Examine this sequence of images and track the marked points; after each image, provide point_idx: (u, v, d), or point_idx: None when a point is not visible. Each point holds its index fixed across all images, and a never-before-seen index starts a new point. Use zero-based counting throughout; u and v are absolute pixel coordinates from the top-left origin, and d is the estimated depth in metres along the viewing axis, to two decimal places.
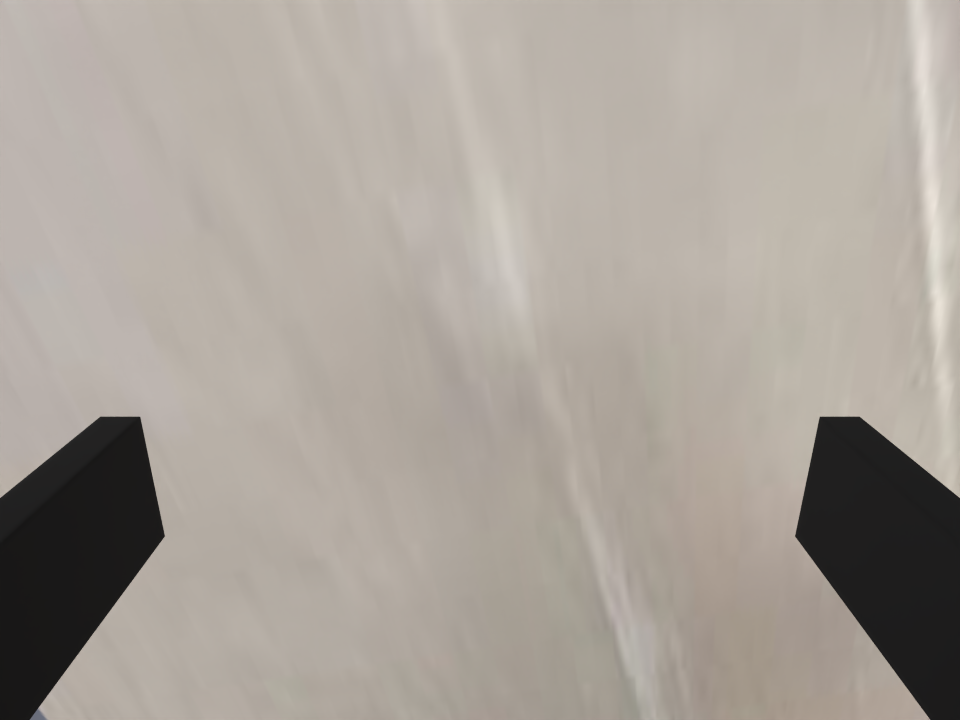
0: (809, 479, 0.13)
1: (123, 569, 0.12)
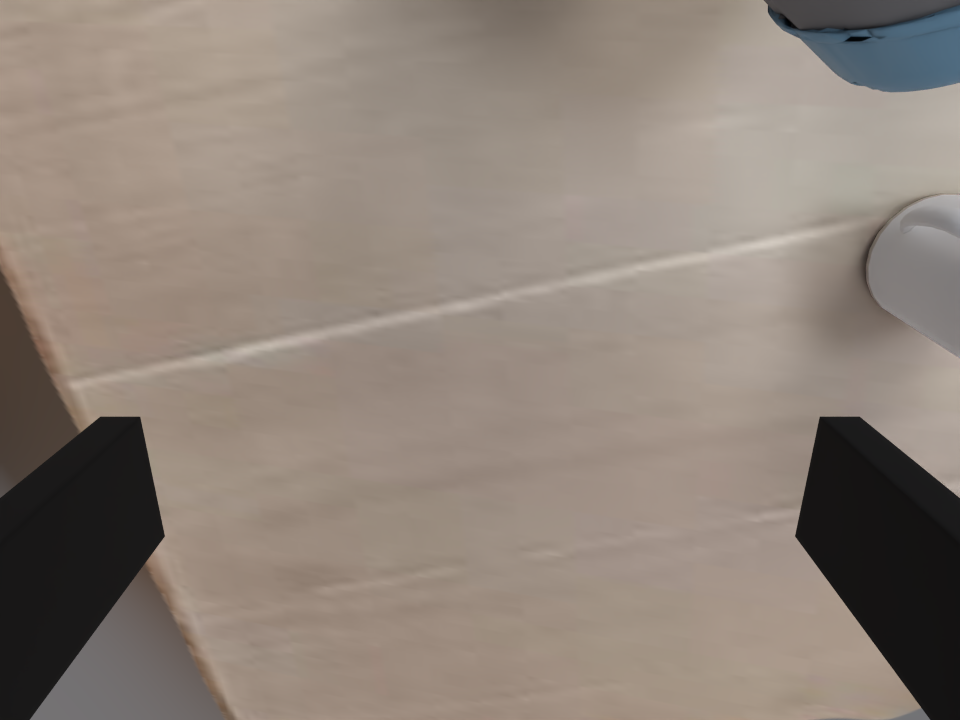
0: (808, 479, 0.13)
1: (124, 569, 0.12)
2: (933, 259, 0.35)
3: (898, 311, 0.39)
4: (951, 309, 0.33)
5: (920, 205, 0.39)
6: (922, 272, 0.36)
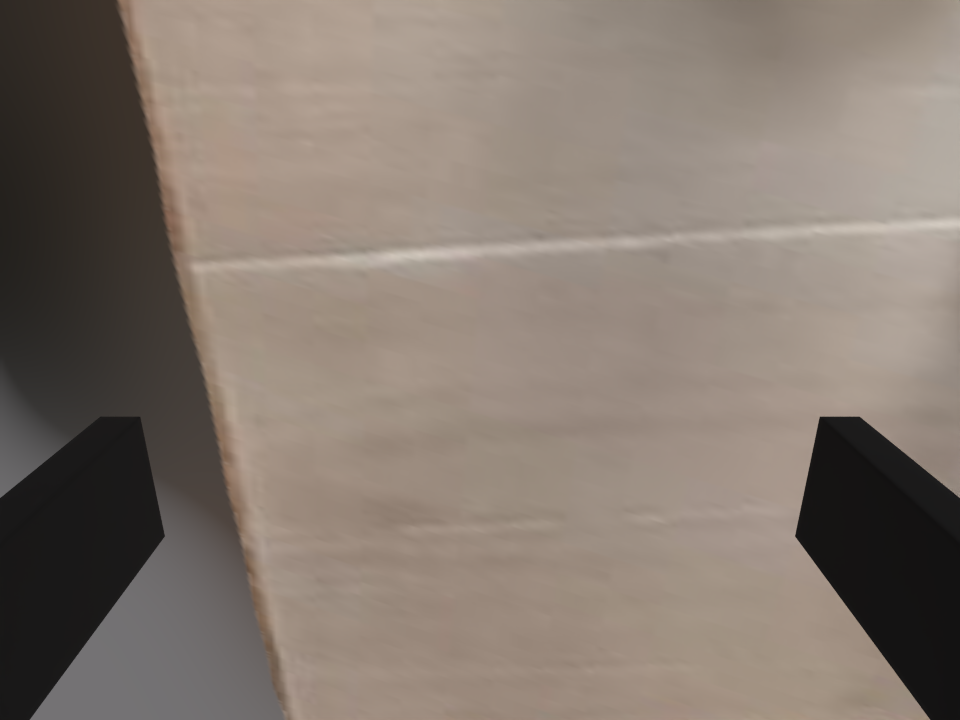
0: (808, 479, 0.13)
1: (123, 569, 0.12)
2: None
3: None
4: None
5: None
6: None
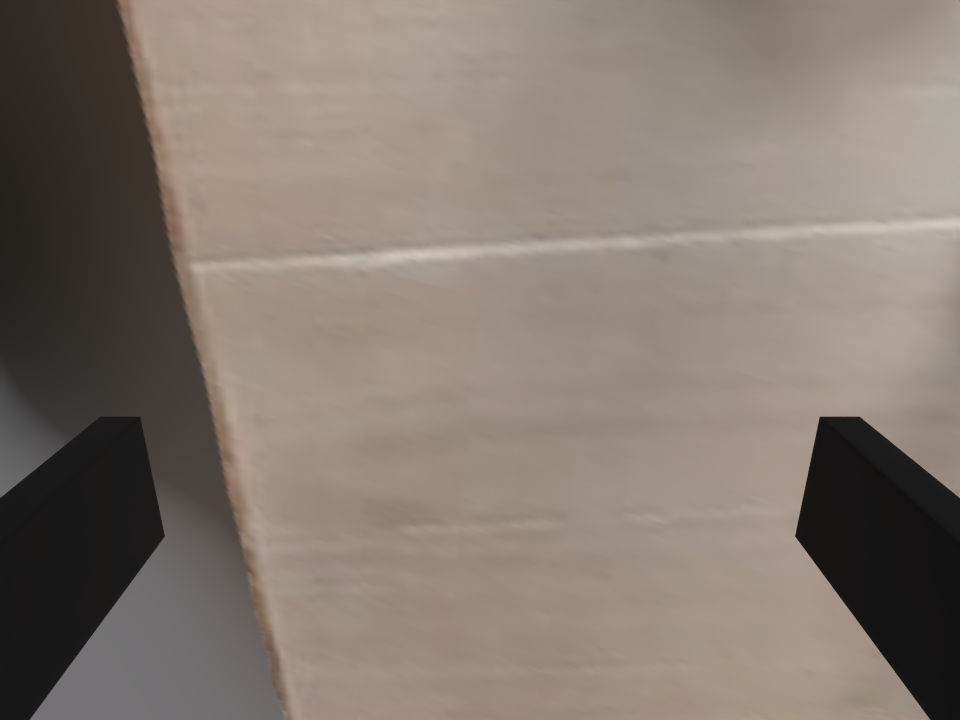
0: (808, 479, 0.13)
1: (123, 569, 0.12)
2: None
3: None
4: None
5: None
6: None
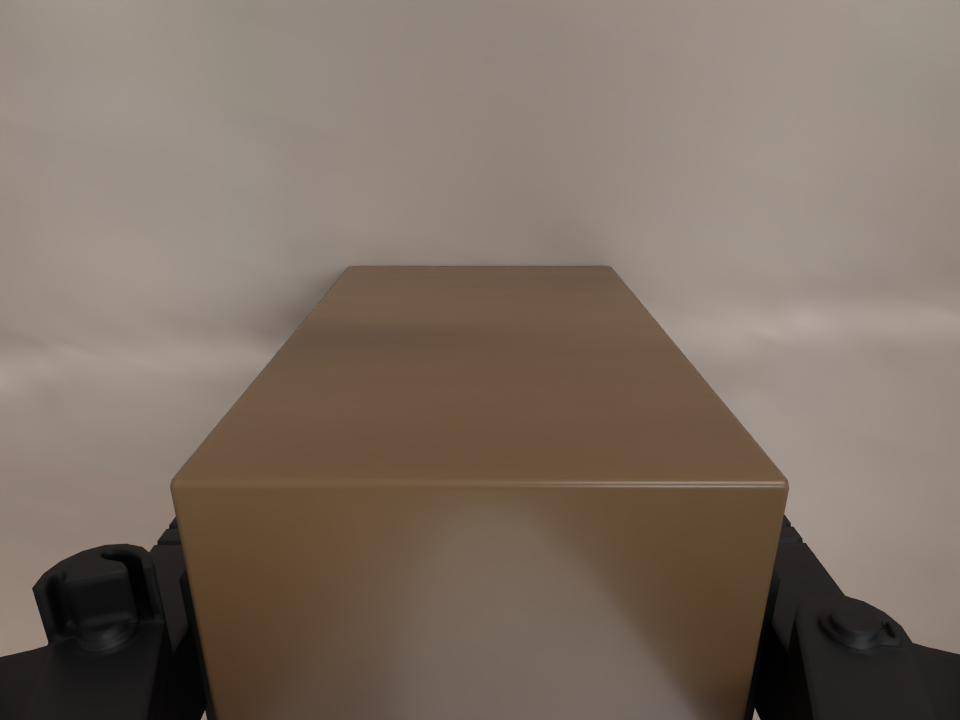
0: None
1: None
2: None
3: None
4: None
5: None
6: None
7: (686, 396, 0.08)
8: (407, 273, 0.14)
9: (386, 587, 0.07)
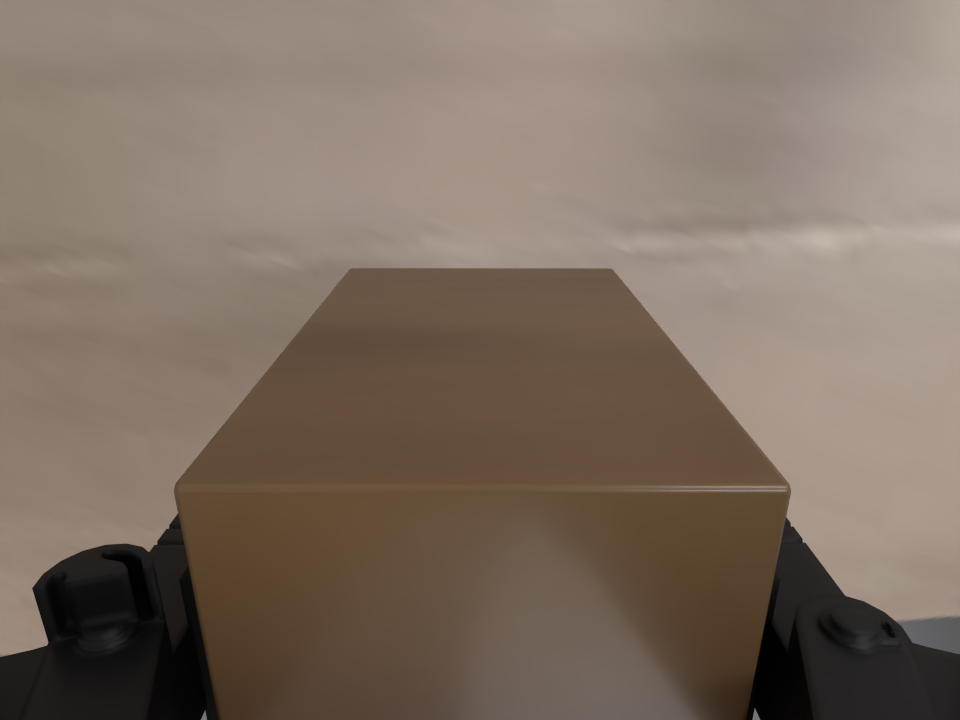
0: None
1: None
2: None
3: None
4: None
5: None
6: None
7: (687, 400, 0.08)
8: (408, 275, 0.14)
9: (388, 591, 0.07)
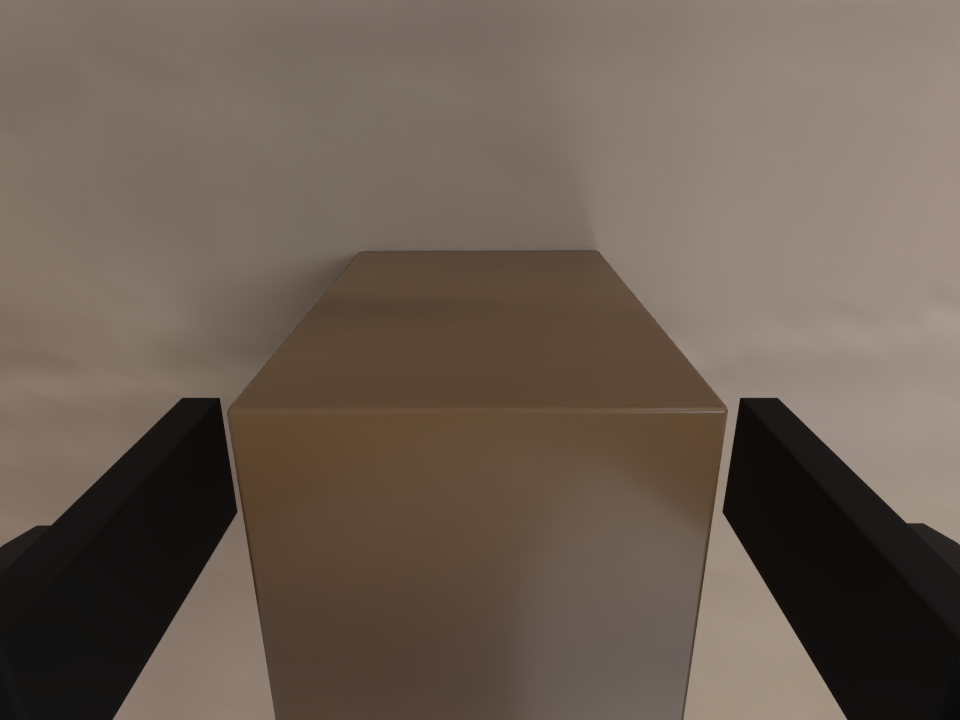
0: (733, 458, 0.14)
1: (208, 539, 0.13)
2: None
3: None
4: None
5: None
6: None
7: (652, 349, 0.10)
8: (413, 257, 0.16)
9: (401, 500, 0.08)
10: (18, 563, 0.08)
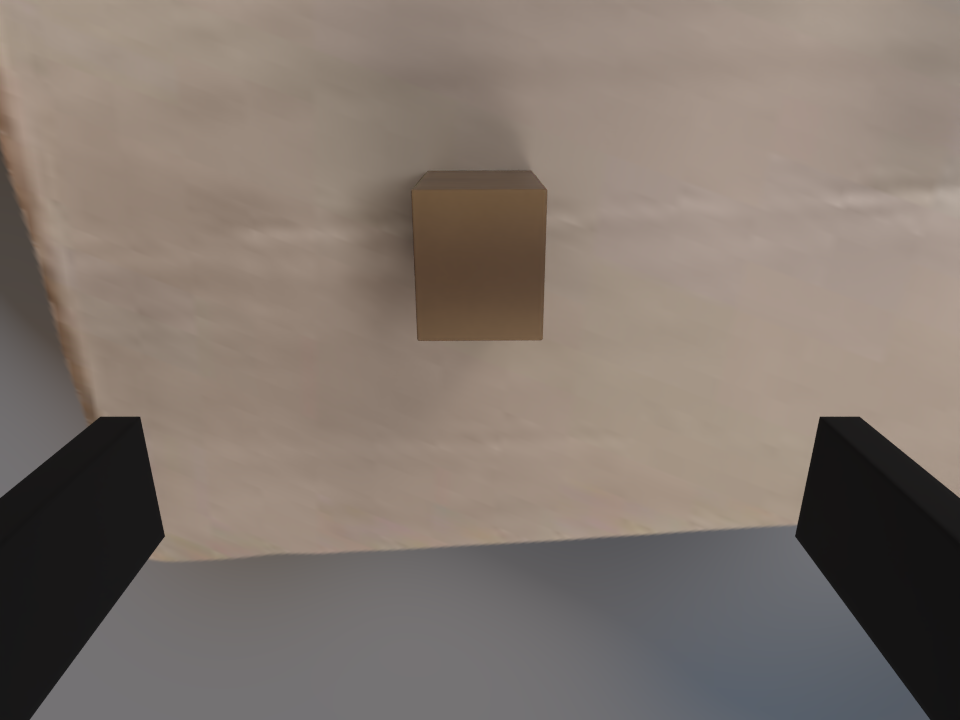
0: (809, 480, 0.13)
1: (124, 569, 0.12)
2: None
3: None
4: None
5: None
6: None
7: (533, 184, 0.30)
8: (451, 172, 0.36)
9: (457, 218, 0.29)
10: None
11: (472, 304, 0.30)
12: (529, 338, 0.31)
